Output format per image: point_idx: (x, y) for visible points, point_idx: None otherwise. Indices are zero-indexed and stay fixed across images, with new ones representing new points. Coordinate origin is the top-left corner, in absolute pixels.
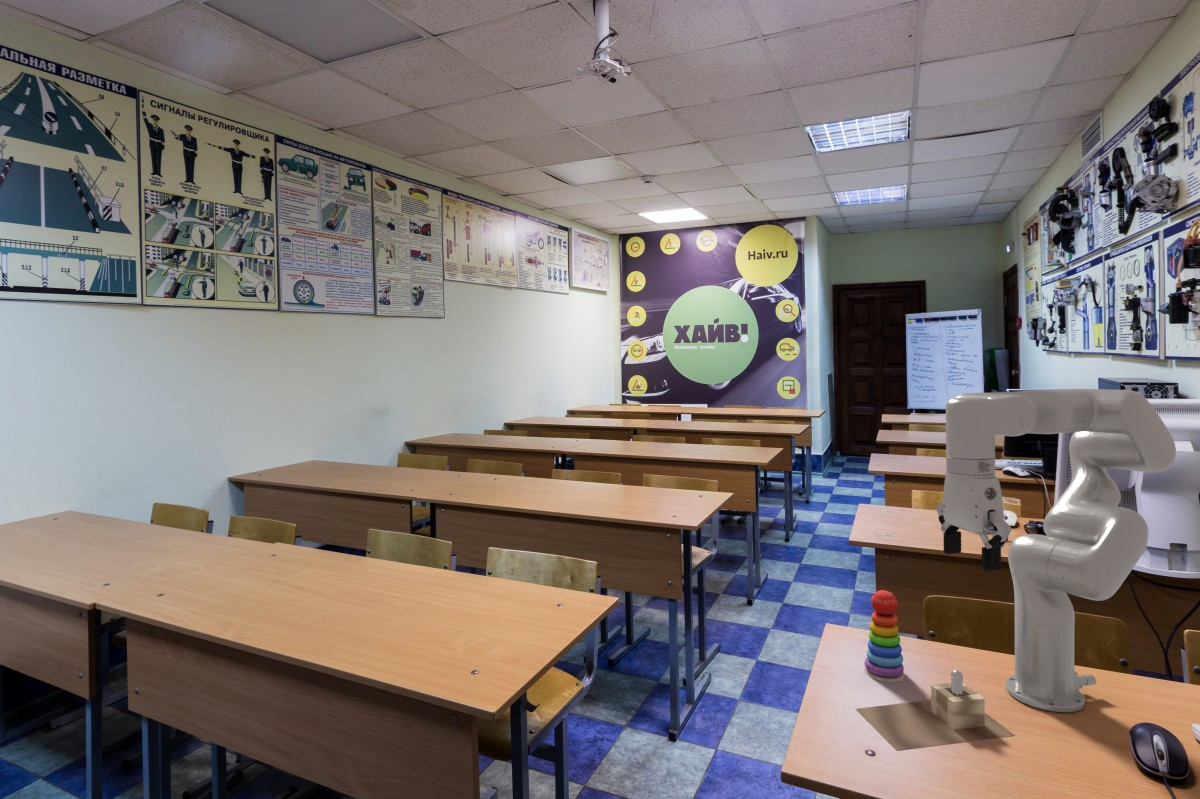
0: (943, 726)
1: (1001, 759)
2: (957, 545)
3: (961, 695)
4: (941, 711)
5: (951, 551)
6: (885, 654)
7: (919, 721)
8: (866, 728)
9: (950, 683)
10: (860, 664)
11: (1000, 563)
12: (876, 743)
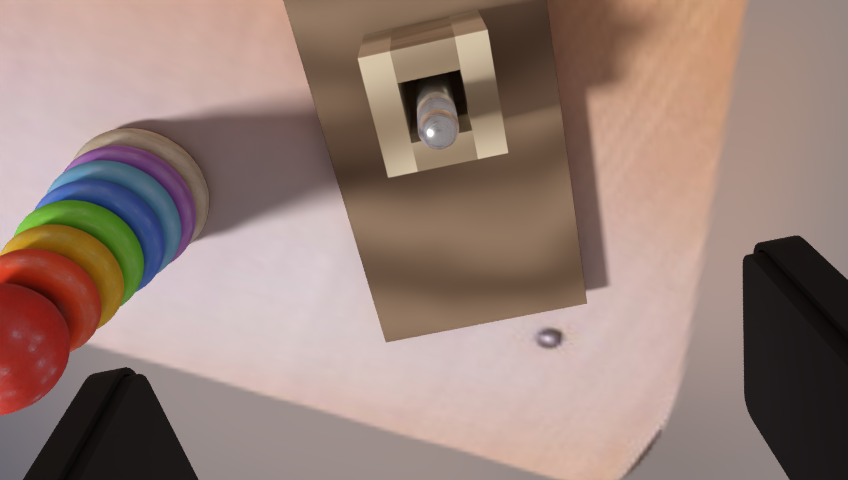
0: None
1: (606, 21)
2: (125, 472)
3: (452, 97)
4: None
5: (180, 478)
6: (163, 254)
7: (450, 200)
8: None
9: (373, 104)
10: None
11: (827, 270)
12: None
